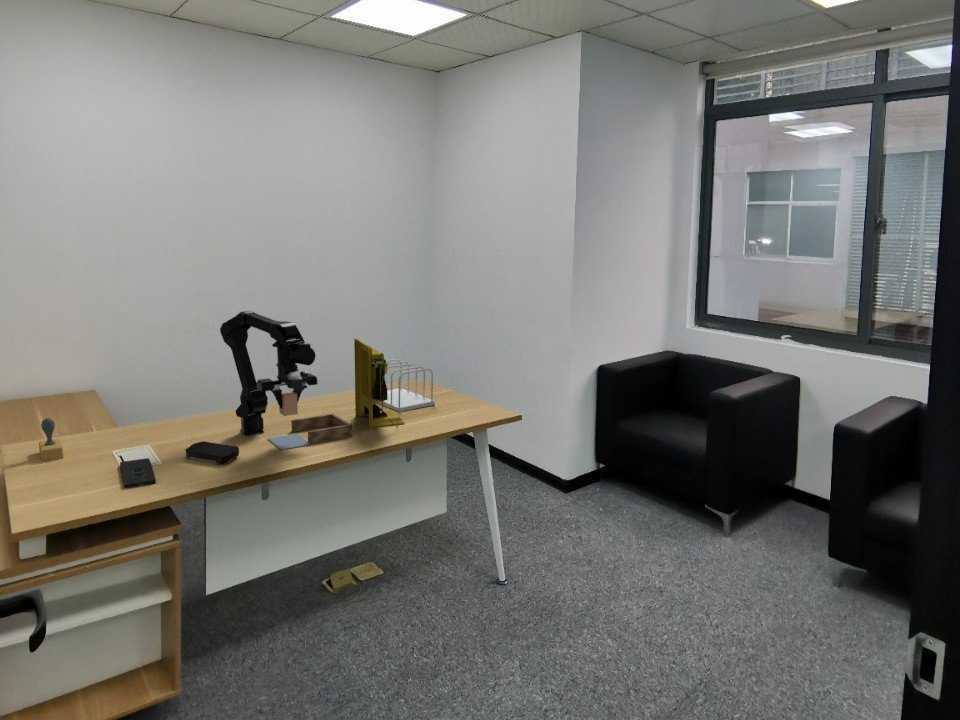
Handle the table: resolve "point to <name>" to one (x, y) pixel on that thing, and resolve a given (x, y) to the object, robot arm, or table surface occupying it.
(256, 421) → the robot arm
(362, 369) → the vintage telephone
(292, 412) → the terracotta block
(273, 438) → the slate mat
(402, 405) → the file sorter
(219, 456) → the black sponge
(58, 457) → the rubber stamp
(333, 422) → the brown open boxy piece
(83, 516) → the table surface
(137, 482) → the smart home device
